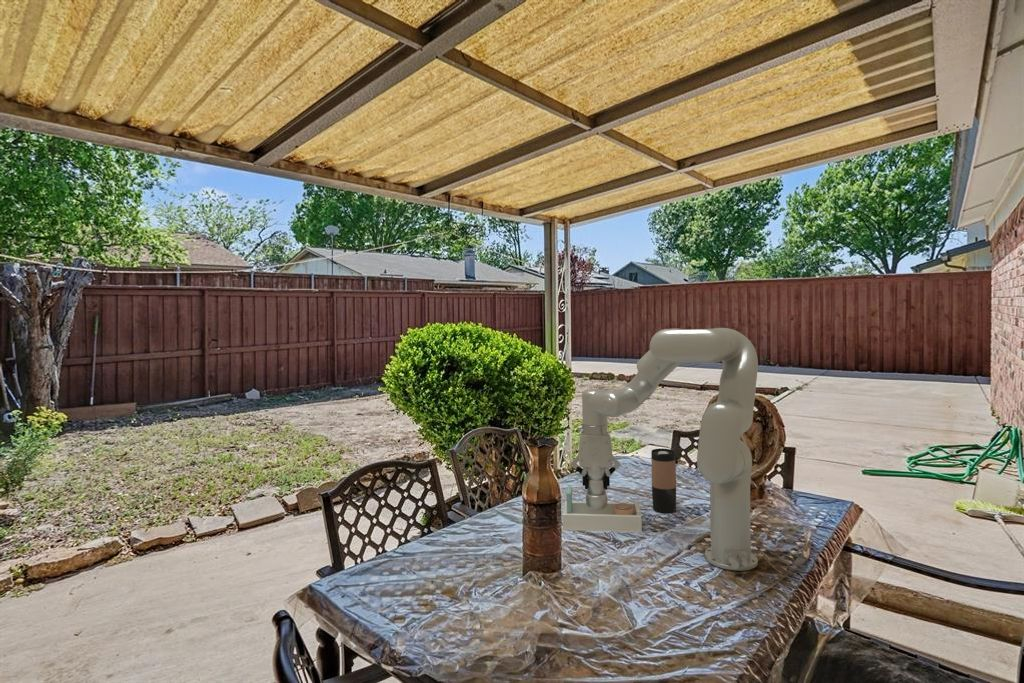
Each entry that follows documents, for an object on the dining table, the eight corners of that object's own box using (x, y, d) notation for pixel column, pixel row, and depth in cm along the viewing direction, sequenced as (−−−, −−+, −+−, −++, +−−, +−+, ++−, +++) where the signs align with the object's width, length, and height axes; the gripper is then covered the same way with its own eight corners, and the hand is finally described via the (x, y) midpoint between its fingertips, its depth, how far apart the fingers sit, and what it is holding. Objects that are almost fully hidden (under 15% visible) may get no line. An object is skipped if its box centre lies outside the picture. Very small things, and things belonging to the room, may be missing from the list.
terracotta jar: (634, 527, 156) (634, 509, 156) (614, 527, 157) (614, 508, 157) (633, 520, 162) (632, 502, 162) (613, 519, 163) (613, 502, 163)
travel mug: (674, 508, 174) (672, 448, 173) (679, 516, 166) (677, 454, 166) (650, 507, 175) (649, 448, 174) (654, 516, 167) (653, 454, 166)
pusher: (571, 526, 158) (570, 493, 157) (567, 526, 158) (566, 493, 158) (572, 516, 166) (571, 484, 166) (568, 516, 166) (567, 484, 166)
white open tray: (641, 534, 153) (641, 513, 153) (563, 532, 156) (562, 511, 156) (638, 519, 165) (637, 499, 165) (565, 517, 168) (564, 498, 168)
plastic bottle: (607, 512, 157) (606, 446, 156) (584, 511, 158) (583, 446, 158) (608, 505, 163) (607, 441, 163) (586, 504, 165) (585, 441, 164)
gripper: (566, 432, 157) (567, 491, 158) (624, 432, 155) (625, 492, 156) (567, 427, 165) (568, 483, 166) (622, 427, 162) (623, 485, 163)
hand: (596, 487), depth 161 cm, fingers closed on plastic bottle, 5 cm apart
